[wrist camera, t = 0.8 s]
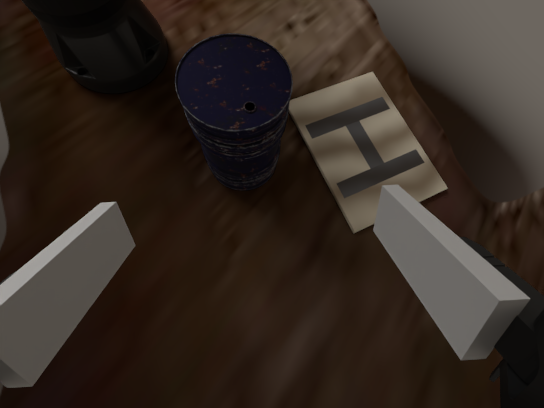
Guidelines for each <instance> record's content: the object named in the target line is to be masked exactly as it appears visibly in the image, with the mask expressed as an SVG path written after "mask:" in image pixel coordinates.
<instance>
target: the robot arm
mask: <svg viewBox="0 0 544 408" xmlns="http://www.w3.org/2000/svg"><path fill="white" fill-rule="evenodd" d="M22 1H23V3H24V4H25V5H26V6H27V7H28V8H29V10H30V11H31V12H32V13H33V14H34V15H35V16H36V18H37V19H38V21H39V23H40V25H41V27H42V29H43V31H44V33H45V35H46V37H47V39H48V41H49V43H50V45H51V47H52V49H53V51H54V53H55V55H56V57H57V59H58V60H59V62H60V63H61V65H62V66H63V67H64V69H65V70H66V71H67V72H68V73H69V74H70V75H71V76H72V77H73V78H74V79H75V80H76V81H77V82H78V83H80V84H81V85H83V86H84V87H86V88H88V89H91V90H93V91H97V92H101V93H124V92H129V91H132V90H135V89H138V88H140V87H142V86H144V85H146V84H148V83H149V82H151V81H152V80H153V79H154V78H155V77H156V76H157V75H158V74H159V73H160V72H161V71H162V69H163V67H164V65H165V63H166V61H167V57H168V46H167V42H166V39H165V37H164V34H163V32H162V29H161V27H160V25H159V23H158V22H157V20H156V19H155V18H154V16H153V15H152V14H151V13H150V11H149V10H148V9H147V7H146V6H145V5H144V4H143V2H142V1H141V0H22ZM373 231H374V233H375V234H376V236H377V237H378V239H379V240H380V242H381V243H382V245H383V246H384V248H385V249H386V250H387V252H388V253H389V255H390V256H391V258H392V259H393V261H394V262H395V264H396V265H397V267H398V268H399V270H400V271H401V273H402V274H403V276H404V277H405V279H406V280H407V282H408V283H409V284H410V286H411V287H412V289H413V290H414V292H415V293H416V295H417V296H418V298H419V299H420V301H421V302H422V304H423V305H424V307H425V308H426V310H427V311H428V313H429V314H430V316H431V317H432V318H433V320H434V321H435V323H436V324H437V326H438V327H439V329H440V330H441V332H442V333H443V335H444V336H445V338H446V339H447V341H448V342H449V344H450V345H451V347H452V348H453V349H454V351H455V352H456V354H457V355H458V357H459V358H460V360H475V359H486V358H487V357H488V355H489V354H490V353H491V351H492V350H493V349H494V347H495V348H496V349H497V351H498V352H499V353H500V354H501V356H502V357H503V360H502V361H501V362H500V363H499V365H498V366H497V367H496V368H495V369H494V371H493V372H492V373H491V375H490V378H489V380H491V381H493V382H494V381H495V380H496V379H497V378H498V377H499V375H500V397H501V408H544V296H543V295H542V294H540V293H539V292H538V291H537V290H535V289H534V288H533V287H532V286H531V285H529V284H528V283H527V282H526V281H524V280H523V279H522V278H521V277H519V276H518V275H517V274H516V273H514V272H513V271H512V270H511V269H510V268H508V267H505V264H503V263H502V262H501V261H500V260H498V259H497V258H494V256H493V255H492V254H491V253H490V252H489V251H487V250H486V249H485V248H484V247H482V246H481V245H479V244H477V243H475V242H473V241H472V240H470V239H468V238H466V237H458V236H457V235H456V234H455V233H454V232H452V231H451V230H450V229H449V228H448V227H447V226H445V225H444V224H443V223H442V222H441V221H440V220H438V219H437V218H436V217H435V216H434V215H433V214H431V213H430V212H429V211H428V210H427V209H426V208H424V207H423V206H422V205H421V204H420V203H419V202H417V201H416V200H415V199H414V198H413V197H412V196H410V195H409V194H408V193H407V192H406V191H405V190H404V189H402V188H401V187H400V186H399V185H398V184H397V185H382V189H381V194H380V199H379V204H378V209H377V214H376V219H375V224H374V229H373ZM134 247H135V243H134V241H133V238H132V236H131V234H130V232H129V229H128V227H127V225H126V223H125V220H124V218H123V216H122V214H121V211H120V209H119V207H118V205H117V202H106V203H100V204H99V205H98V206H96V207H95V208H94V209H93V210H91V211H90V212H89V213H88V214H86V215H85V216H84V217H83V218H82V219H80V220H79V221H78V222H77V223H75V224H74V225H73V226H72V227H71V228H69V229H68V230H67V231H66V232H64V233H63V234H62V235H61V236H60V237H58V238H57V239H56V240H55V241H53V242H52V243H51V244H50V245H48V246H47V247H46V248H45V249H44V250H42V251H41V252H40V253H39V254H37V255H36V256H35V257H34V258H33V259H31V260H30V261H29V262H28V263H26V264H25V265H24V266H23V267H22V268H20V269H19V270H18V271H16V272H15V273H13V274H11V275H10V276H8V277H7V278H6V279H5V280H3V281H2V282H1V283H0V382H1V383H2V384H3V385H5V386H6V387H7V388H12V387H29V386H33V385H34V383H35V382H36V381H37V379H38V378H39V377H40V375H41V374H42V372H43V371H44V370H45V368H46V367H47V366H48V364H49V363H50V362H51V360H52V359H53V357H54V356H55V355H56V353H57V352H58V351H59V349H60V348H61V347H62V345H63V344H64V342H65V341H66V340H67V338H68V337H69V336H70V334H71V333H72V331H73V330H74V329H75V327H76V326H77V325H78V323H79V322H80V321H81V319H82V318H83V316H84V315H85V314H86V312H87V311H88V310H89V308H90V307H91V306H92V304H93V303H94V301H95V300H96V299H97V297H98V296H99V295H100V293H101V292H102V290H103V289H104V288H105V286H106V285H107V284H108V282H109V281H110V280H111V278H112V277H113V275H114V274H115V273H116V271H117V270H118V269H119V267H120V266H121V265H122V263H123V262H124V260H125V259H126V258H127V256H128V255H129V254H130V252H131V251H132V249H133V248H134Z"/></svg>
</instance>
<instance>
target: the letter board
mask: <svg viewBox="0 0 544 408" xmlns="http://www.w3.org/2000/svg"><path fill="white" fill-rule="evenodd" d="M289 113H290V115H291V117H292V119H293V121H294V123H295V125H296V126H297V128H298V130H299V132H300V134H301V136H302V138H303V140H304V141H305V143H306V145H307V147H308V149H309V151H310V153H311V155H312V157H313V158H314V160H315V162H316V164H317V166H318V168H319V170H320V172H321V174H322V175H323V177H324V179H325V181H326V183H327V185H328V187H329V189H330V191H331V192H332V194H333V196H334V198H335V200H336V202H337V204H338V206H339V207H340V209H341V211H342V213H343V215H344V217H345V219H346V221H347V223H348V224H349V226H350V228H351V230H352V232H353V233H356V232H358V231H360V230H362V229H364V228H366V227H368V226H370V225H372V224H375V219H376V214H377V209H378V204H379V199H380V194H381V189H382V185H397V184H398V185H399V186H400V187H401V188H402V189H404V190H405V191H406V192H407V193H408V194H409V195H410V196H412V197H413V198H414V199H415V200H416V201H417V202H421V201H423V200H425V199H427V198H429V197H431V196H433V195H435V194H437V193H439V192H441V191H444V190H446V189H448V188H447V186H446V184H445V183H444V181H443V180H442V178H441V177H440V175H439V174H438V172H437V171H436V169H435V167H434V166H433V164H432V163H431V161H430V160H429V158H428V157H427V155H426V154H425V152H424V150H423V149H422V147H421V146H420V144H419V143H418V141H417V140H416V138H415V137H414V135H413V133H412V132H411V130H410V129H409V127H408V126H407V124H406V123H405V121H404V120H403V118H402V116H401V115H400V113H399V112H398V110H397V109H396V107H395V106H394V104H393V103H392V101H391V100H390V98H389V96H388V95H387V93H386V92H385V90H384V89H383V87H382V86H381V84H380V83H379V81H378V79H377V78H376V76H375V75H374V73H373V72H370V73H367V74H365V75H362V76H359V77H356V78H353V79H350V80H347V81H344V82H342V83H339V84H336V85H333V86H330V87H327V88H324V89H321V90H318V91H316V92H313V93H310V94H307V95H304V96H301V97H298V98H295V99H293V100H290V102H289Z"/></svg>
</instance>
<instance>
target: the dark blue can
mask: <svg viewBox="0 0 544 408" xmlns="http://www.w3.org/2000/svg"><path fill="white" fill-rule="evenodd" d="M292 85H293V81H292V74H291V71H290V68H289V66H288V64H287V62H286V60H285V59H284V57H283V56H282V55H281V54H280V53H279V52H278V51H277V50H276V49H275V48H274V47H273V46H271V45H270V44H268V43H267V42H265V41H263V40H261V39H258V38H256V37H253V36H249V35H244V34H220V35H216V36H212V37H209V38H207V39H204V40H202V41H200V42H199V43H197V44H195V45H194V46H193V47H191V48H190V49H189V50H188V51H187V52H186V53H185V54H184V56H183V57H182V59H181V60H180V62H179V65H178V67H177V70H176V74H175V87H176V92H177V95H178V98H179V100H180V102H181V105H182V106H183V108H184V112H185V115H186V118H187V120H188V122H189V125H190V127H191V128H192V131H193V133H194V135H195V137H196V138H197V140H198V141H199V142H200V143H201V145H202V150H203V153H204V156H205V159H206V162H207V164H208V166H209V167H210V169H211V171H212V173H213V174H214V176H215V177H216V179H217V180H218V181H219V182H220V183H222V184H223V185H225V186H226V187H229V188H231V189H235V190H241V191H244V190H252V189H255V188H258V187H260V186H261V185H263V184H264V183H266V182H267V181H268V180H269V179H270V178H271V176H272V175H273V173H274V170H275V167H276V164H277V162H278V158H279V153H280V143H281V140H280V138H281V137H282V135H283V132H284V130H285V126H286V121H287V117H288V112H289V102H290V97H291V93H292Z"/></svg>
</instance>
